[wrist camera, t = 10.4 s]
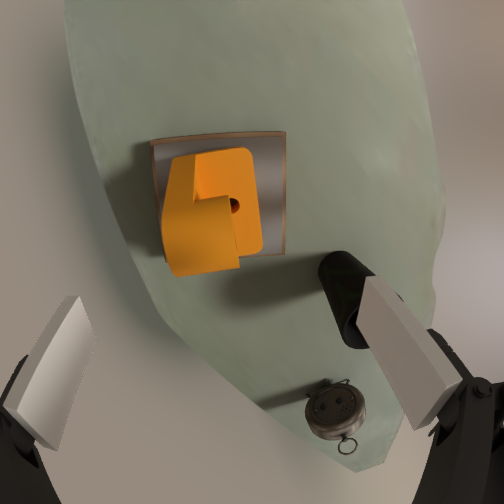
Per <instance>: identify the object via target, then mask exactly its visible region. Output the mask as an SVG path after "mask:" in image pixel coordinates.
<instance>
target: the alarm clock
mask: <svg viewBox="0 0 504 504" xmlns="http://www.w3.org/2000/svg"><path fill="white" fill-rule="evenodd" d="M324 382H325V385H326V386H325V387H323V388H321V389H319V390H318V391H316V392H315V393H314V394H313V395H312V396H310V395H309V394H306V397H309V398H310V399H309V400H308V402H307V405H306V408H305V417H306V420H307V422H308V424H309V427H310V429H311V430H312V432H313V433H314V434H315V435H316V436H318V437H320V438H322V439H325V440H340V439H342V441H341V442H340V443H339V445H338V451H339V453H341V454H343V455H350V454H352V453H354V452H355V451H356V449H357V447H358V443H357V441H356V440H355V439H353V438H347V437H349V436H351V435H352V434H354V433H355V432H356V431H357V430H358V429H359V428H360V427H361V425H362V424H363V422H364V420H365V416H366V408H365V401H364V397H363V395H362V393H361V392H360V391H359V390H358V389H357V388H355V387H354V386H352V385H349V384H348V383H349V382H350V380H349V379H348V380H347V382H346V384H344V383H336V384H331V385H330V384H329V382H328V380H327V379H324ZM348 439H351V440H353V441H355V443H356V447H355V449H354V450H353V451H352V452H350V453H342V452H341V451H340V449H339V447H340V444H341V443H342V442H346V441H348Z"/></svg>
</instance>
